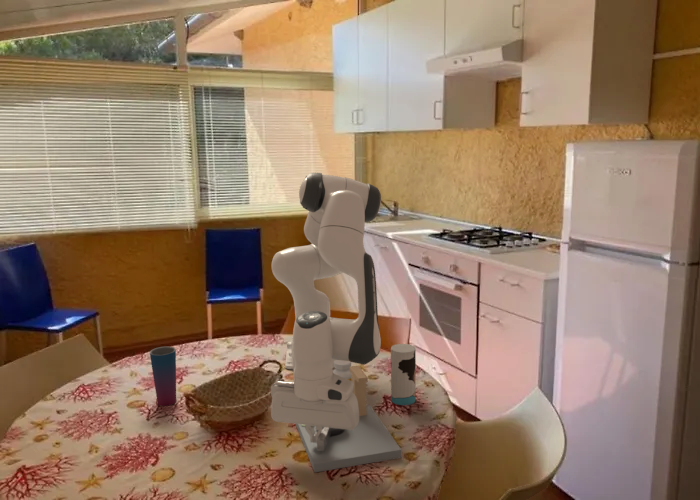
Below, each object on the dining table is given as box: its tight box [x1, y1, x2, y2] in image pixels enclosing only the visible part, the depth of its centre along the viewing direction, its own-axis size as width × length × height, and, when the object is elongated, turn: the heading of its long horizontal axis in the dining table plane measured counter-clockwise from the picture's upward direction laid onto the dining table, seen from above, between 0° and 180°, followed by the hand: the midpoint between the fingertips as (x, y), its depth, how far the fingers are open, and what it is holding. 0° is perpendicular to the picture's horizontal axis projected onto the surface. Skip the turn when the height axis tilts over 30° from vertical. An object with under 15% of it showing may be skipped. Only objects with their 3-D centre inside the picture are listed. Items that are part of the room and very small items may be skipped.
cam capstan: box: [316, 427, 345, 451], centre depth 139 cm, size 18×7×3 cm, turn 171°
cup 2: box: [390, 343, 417, 406], centre depth 160 cm, size 7×7×15 cm
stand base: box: [295, 365, 402, 473], centre depth 139 cm, size 24×20×13 cm
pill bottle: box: [333, 360, 352, 381], centre depth 160 cm, size 6×6×12 cm
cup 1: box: [149, 346, 177, 407], centre depth 162 cm, size 7×7×15 cm
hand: (315, 441), depth 133 cm, fingers closed
